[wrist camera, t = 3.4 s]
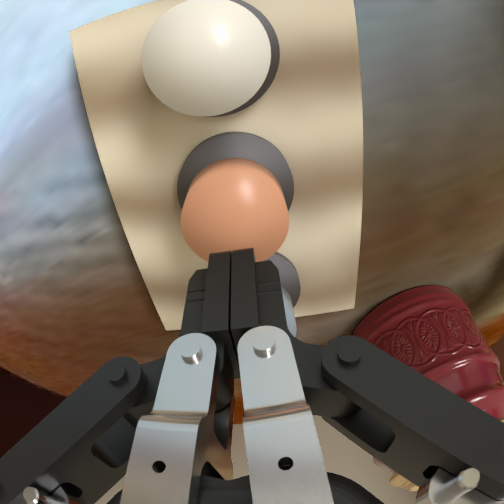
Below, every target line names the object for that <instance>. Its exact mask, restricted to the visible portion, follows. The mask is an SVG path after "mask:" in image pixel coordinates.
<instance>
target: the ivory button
mask: <svg viewBox="0 0 504 504" xmlns="http://www.w3.org/2000/svg"><path fill="white" fill-rule="evenodd" d="M270 62H271V47H270V42H269V38H268V35H267V33H266V31H265V29H264V27H263V25H262V24H261V22H260V21H259V20H258V18H257V17H256V16H255V15H254V14H253V13H252V12H250V11H249V10H248V9H246V8H245V7H243V6H241V5H239V4H238V3H235V2H233V1H230V0H188V1H185V2H182V3H180V4H178V5H176V6H174V7H172V8H171V9H169V10H168V11H166V12H165V13H164V14H163V15H162V16H161V17H160V18H158V20H157V21H156V22H155V23H154V24H153V26H152V27H151V29H150V30H149V32H148V34H147V36H146V39H145V41H144V45H143V49H142V59H141V63H142V70H143V74H144V78H145V80H146V82H147V85H148V86H149V88H150V89H151V91H152V92H153V94H154V95H155V96H156V97H157V98H158V99H159V100H160V101H161V102H162V103H164V104H165V105H167V106H168V107H170V108H172V109H173V110H175V111H178V112H180V113H183V114H187V115H192V116H215V115H220V114H224V113H227V112H230V111H232V110H234V109H236V108H238V107H240V106H241V105H243V104H244V103H246V102H247V101H248V100H249V99H251V98H252V97H253V96H254V95H255V94H256V92H257V91H258V90H259V89H260V87H261V86H262V84H263V82H264V80H265V79H266V76H267V74H268V71H269V67H270Z"/></svg>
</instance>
